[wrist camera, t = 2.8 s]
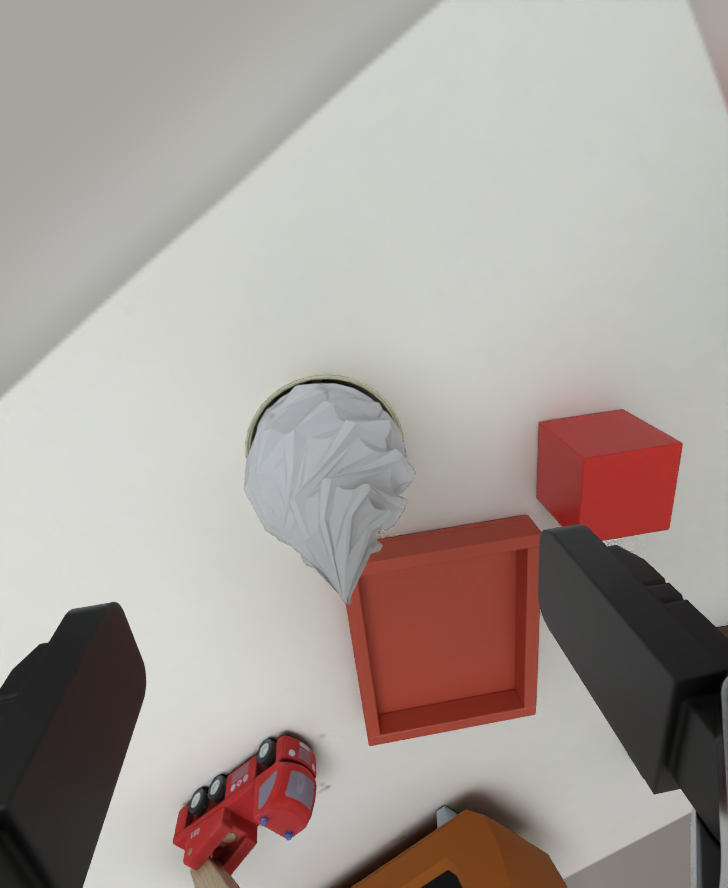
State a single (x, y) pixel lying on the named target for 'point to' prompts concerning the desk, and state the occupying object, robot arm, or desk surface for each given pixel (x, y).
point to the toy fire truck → (246, 810)
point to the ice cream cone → (327, 473)
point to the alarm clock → (467, 858)
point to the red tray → (448, 629)
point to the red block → (608, 473)
